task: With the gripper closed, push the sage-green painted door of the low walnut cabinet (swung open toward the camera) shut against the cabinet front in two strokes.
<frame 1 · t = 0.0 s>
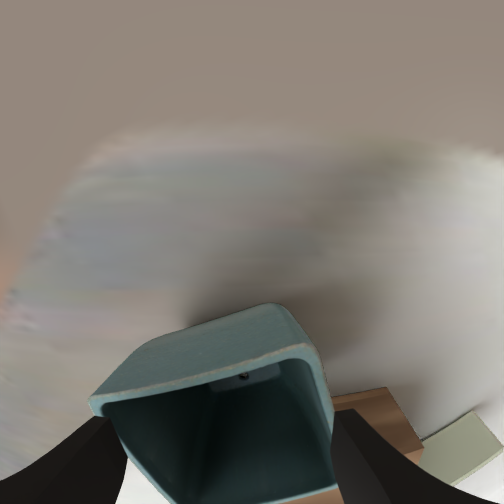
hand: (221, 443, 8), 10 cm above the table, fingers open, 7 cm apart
cabinet: (324, 442, 21), on the table
door: (438, 464, 18), point 3 cm above the table, hinge at 70.0°
flower pot: (236, 350, 19), on the table
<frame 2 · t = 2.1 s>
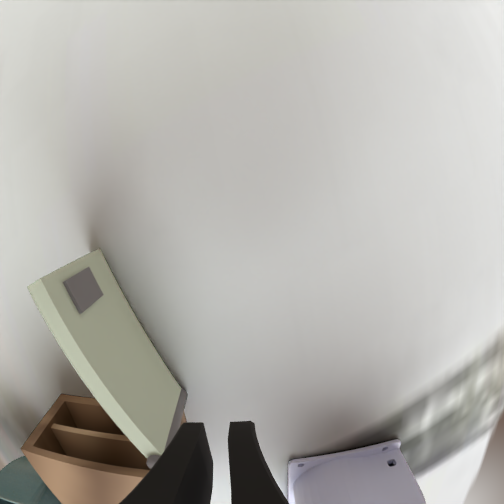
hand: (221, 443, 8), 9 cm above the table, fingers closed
cabinet: (132, 442, 20), on the table
door: (121, 359, 14), point 3 cm above the table, hinge at 70.0°
flower pot: (67, 466, 21), on the table
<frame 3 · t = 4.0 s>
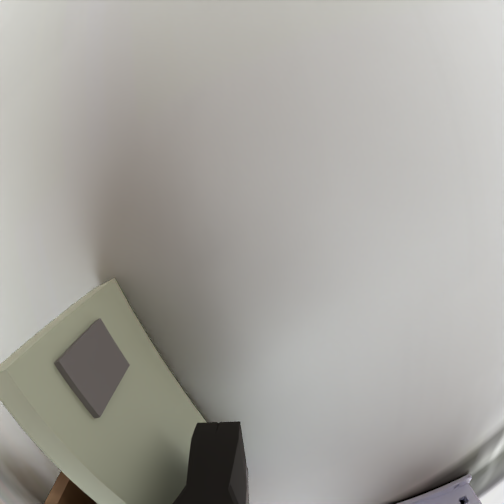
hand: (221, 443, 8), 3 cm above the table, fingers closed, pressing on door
door: (166, 460, 8), point 3 cm above the table, hinge at 70.0°, touching gripper
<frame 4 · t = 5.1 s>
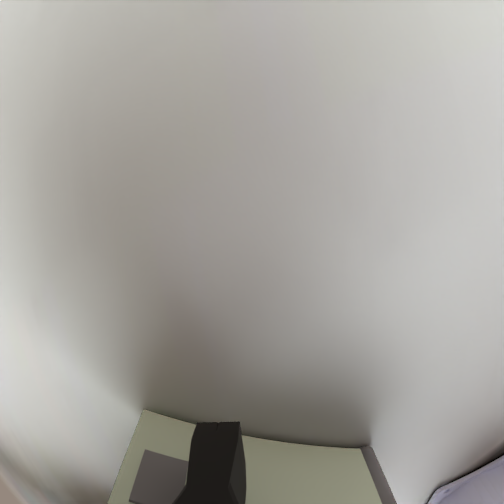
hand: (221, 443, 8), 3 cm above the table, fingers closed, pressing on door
door: (272, 501, 9), point 3 cm above the table, hinge at 21.8°, touching gripper
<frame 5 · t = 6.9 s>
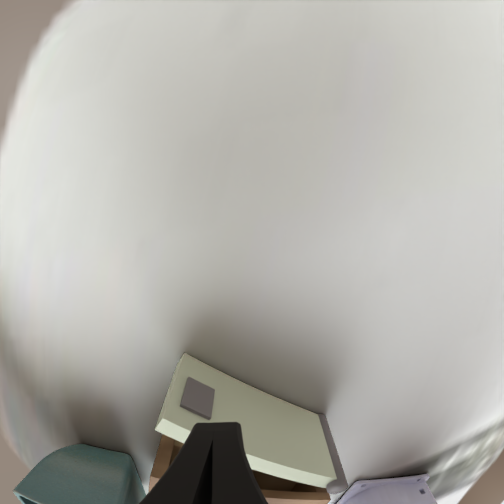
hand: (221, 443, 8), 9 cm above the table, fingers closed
cabinet: (229, 455, 20), on the table
door: (260, 428, 15), point 3 cm above the table, hinge at 16.3°
flower pot: (111, 462, 21), on the table
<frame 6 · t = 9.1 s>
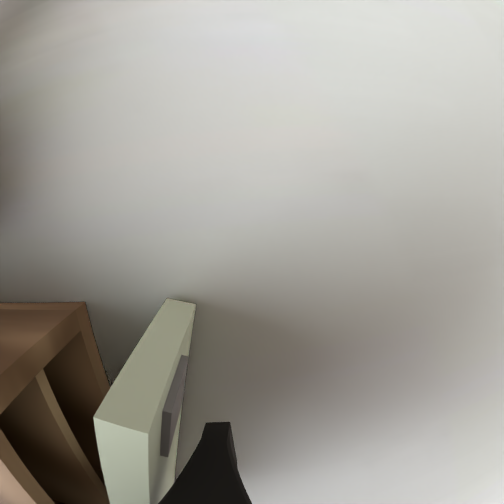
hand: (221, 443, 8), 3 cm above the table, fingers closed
cabinet: (41, 396, 11), on the table
door: (154, 474, 8), point 3 cm above the table, hinge at 16.2°, touching gripper
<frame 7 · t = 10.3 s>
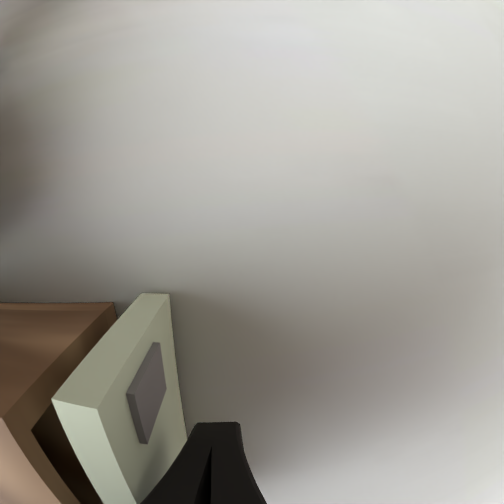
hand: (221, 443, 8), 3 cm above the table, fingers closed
cabinet: (59, 399, 12), on the table
door: (158, 471, 8), point 3 cm above the table, hinge at 4.5°
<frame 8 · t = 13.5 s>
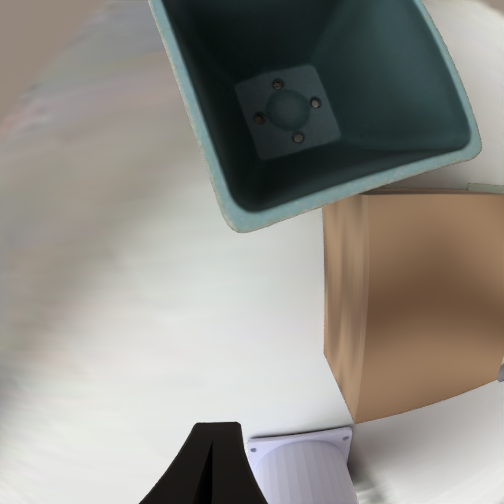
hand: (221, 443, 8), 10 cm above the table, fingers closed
cabinet: (394, 271, 18), on the table
door: (495, 277, 14), point 3 cm above the table, hinge at 4.4°
flower pot: (287, 111, 16), on the table
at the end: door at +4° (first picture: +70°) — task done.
